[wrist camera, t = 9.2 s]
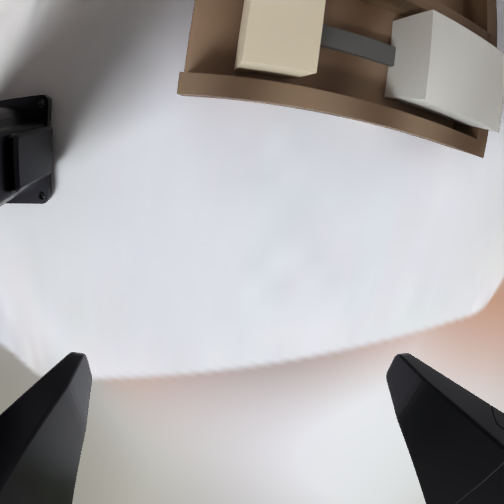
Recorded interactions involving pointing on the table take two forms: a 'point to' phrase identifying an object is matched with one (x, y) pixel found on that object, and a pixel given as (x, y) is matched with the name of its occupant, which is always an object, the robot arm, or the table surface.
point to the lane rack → (332, 66)
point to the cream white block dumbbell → (382, 57)
